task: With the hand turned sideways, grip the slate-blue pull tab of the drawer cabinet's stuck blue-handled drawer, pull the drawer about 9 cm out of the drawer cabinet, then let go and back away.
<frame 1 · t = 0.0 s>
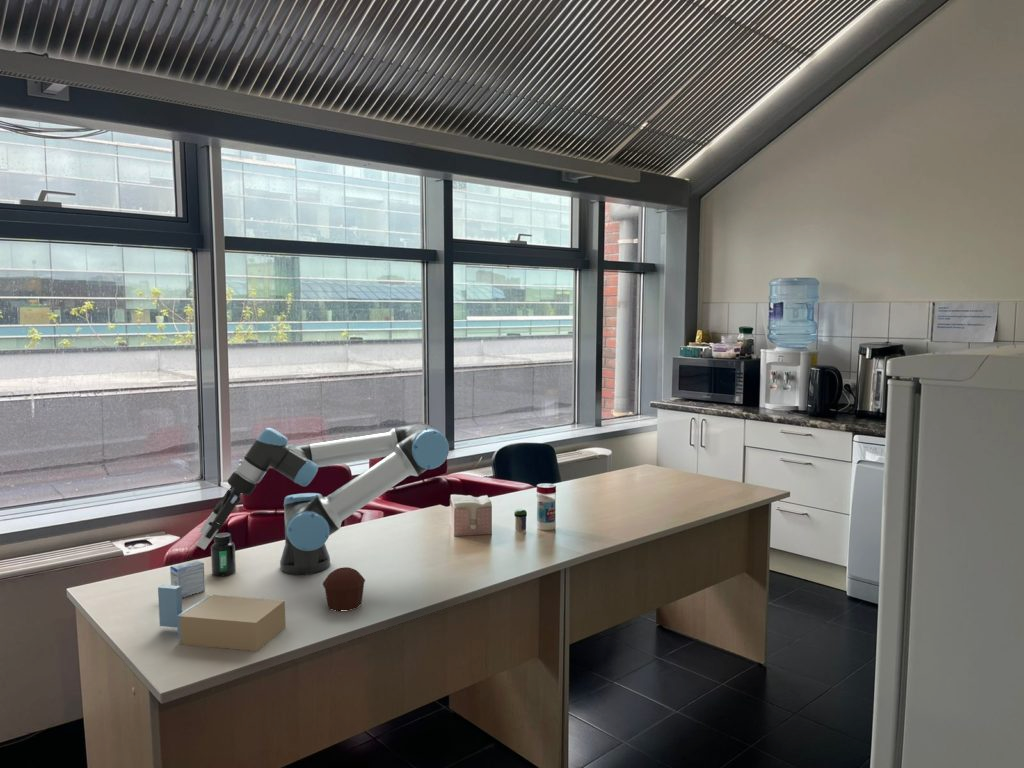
hand: (201, 540, 217), 15 cm above the table, tool tilted 35°, fingers open, 13 cm apart
drawer cabinet: (234, 635, 190), on the table
supplement bottle: (223, 573, 235), on the table
muffin: (344, 606, 209), on the table
blue-handled drawer: (213, 609, 190), point 6 cm above the table, slide at 0.0 cm
medicine box: (188, 594, 218), on the table
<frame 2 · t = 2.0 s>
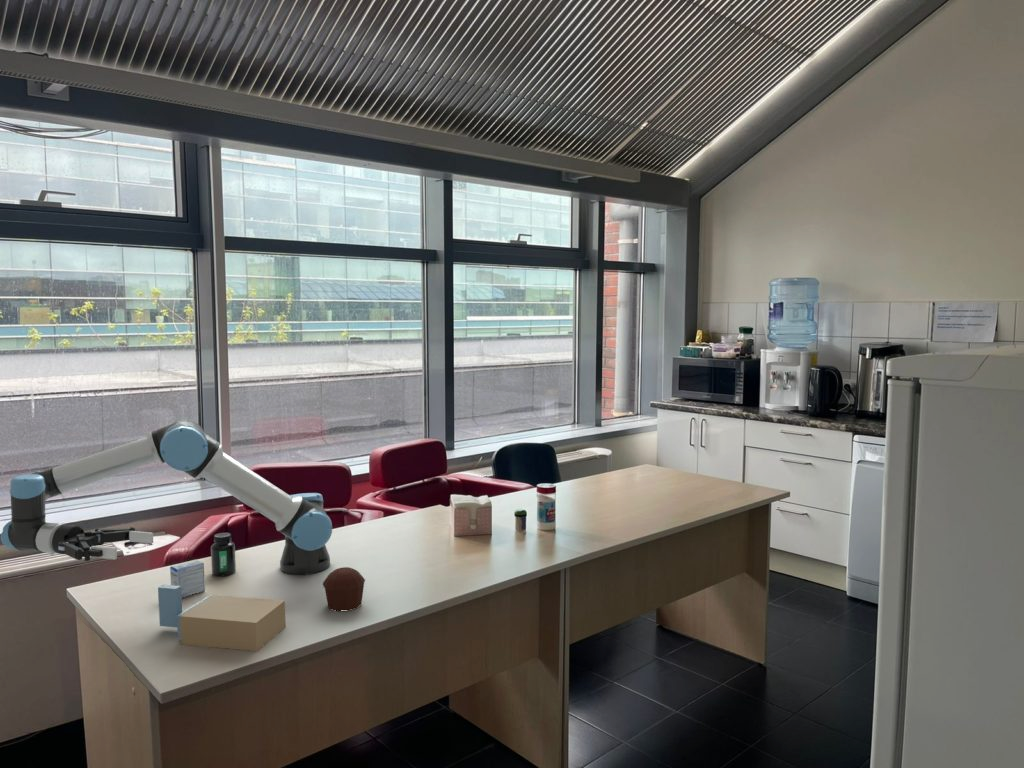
hand: (134, 545, 193), 21 cm above the table, tool horizontal, fingers open, 13 cm apart
nothing on the table moved.
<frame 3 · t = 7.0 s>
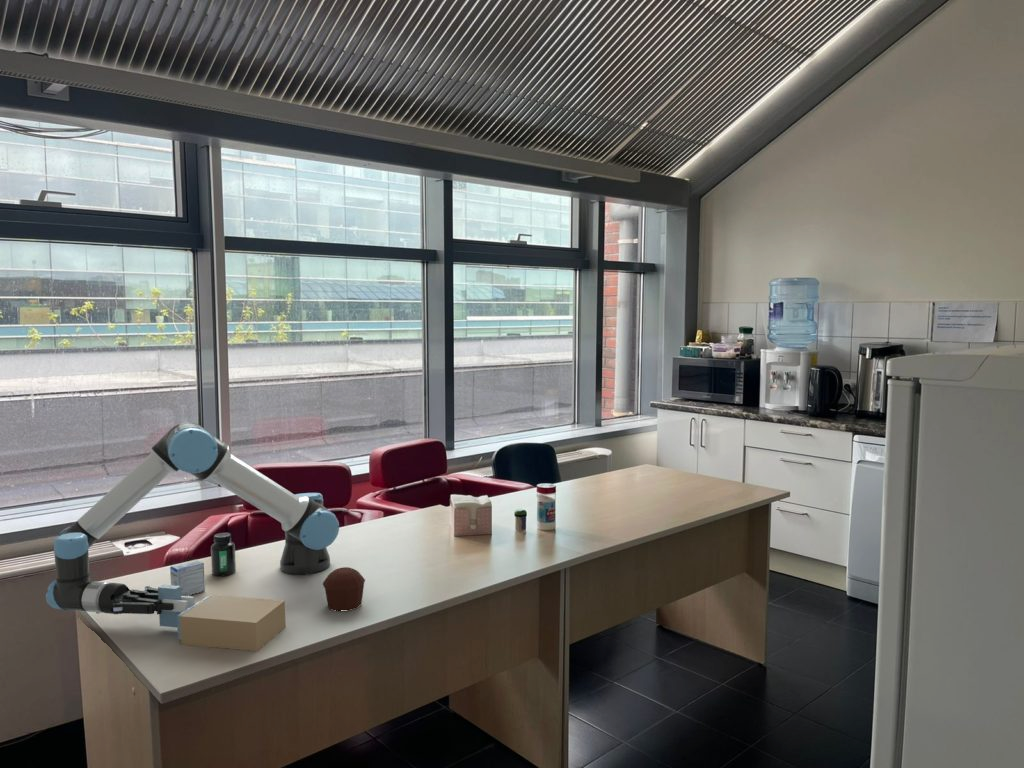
hand: (189, 604, 191), 7 cm above the table, tool horizontal, fingers closed on blue-handled drawer, 2 cm apart
blue-handled drawer: (213, 609, 190), point 6 cm above the table, slide at 0.0 cm, touching gripper
everything else where it was.
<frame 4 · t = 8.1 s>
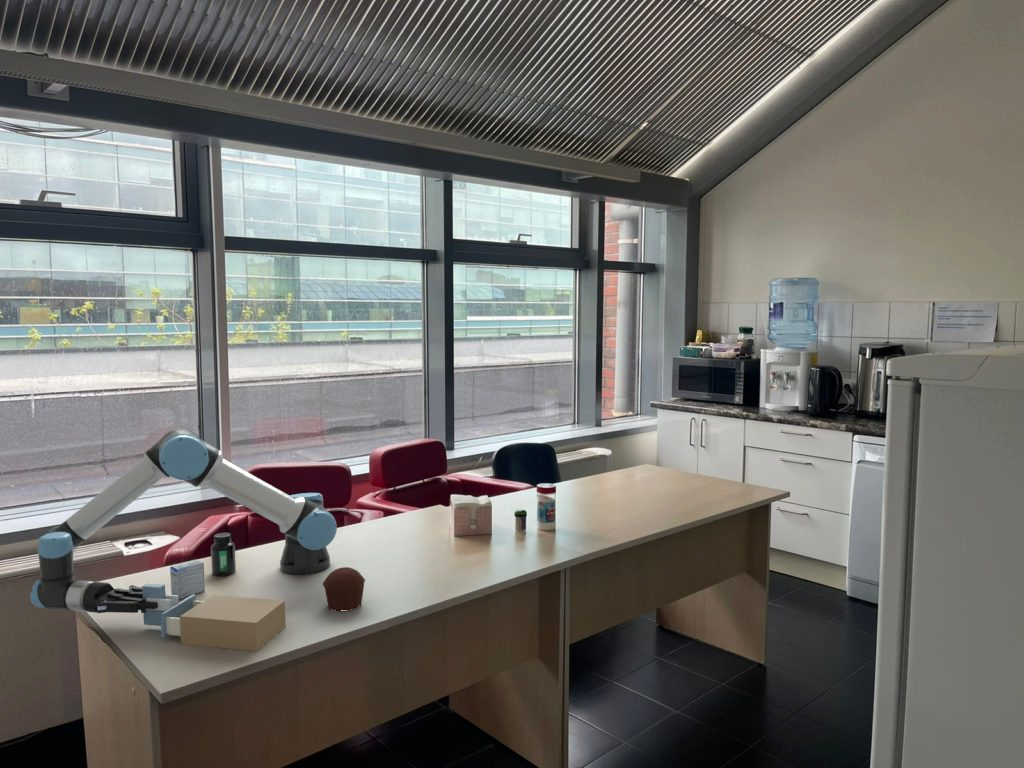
hand: (174, 603, 192), 7 cm above the table, tool horizontal, fingers closed on blue-handled drawer, 2 cm apart
blue-handled drawer: (196, 608, 191), point 6 cm above the table, slide at 4.5 cm, touching gripper
everything else where it was.
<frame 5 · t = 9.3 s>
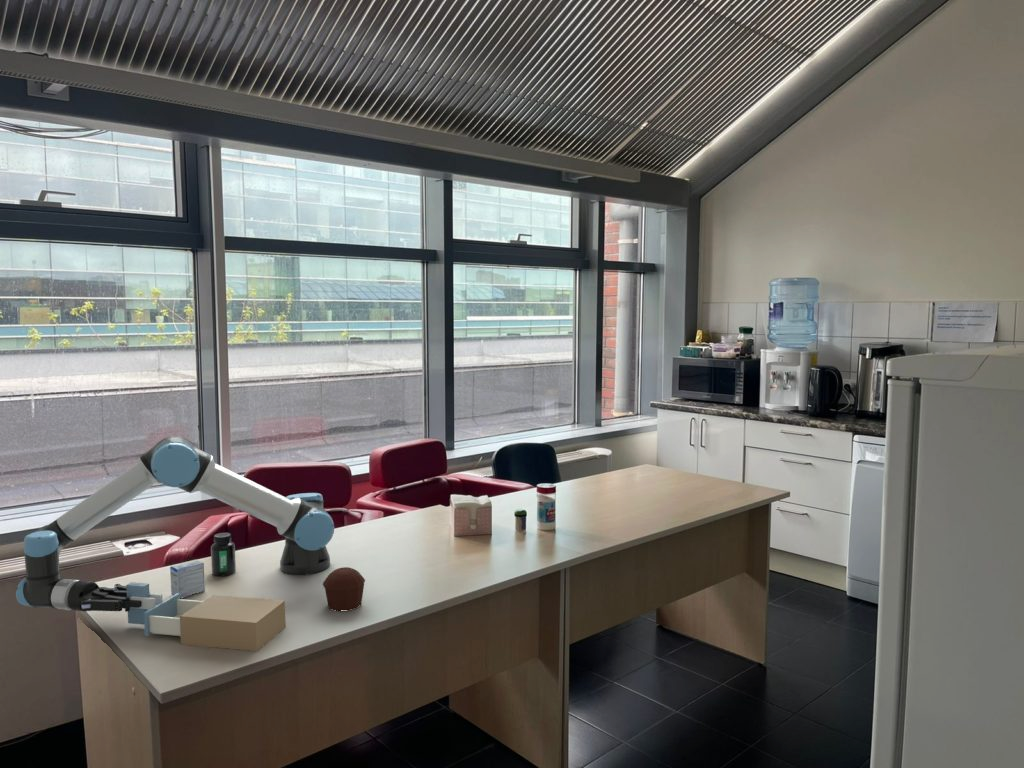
hand: (157, 601, 193), 7 cm above the table, tool horizontal, fingers closed on blue-handled drawer, 2 cm apart
blue-handled drawer: (180, 607, 192), point 6 cm above the table, slide at 9.0 cm, touching gripper
everything else where it was.
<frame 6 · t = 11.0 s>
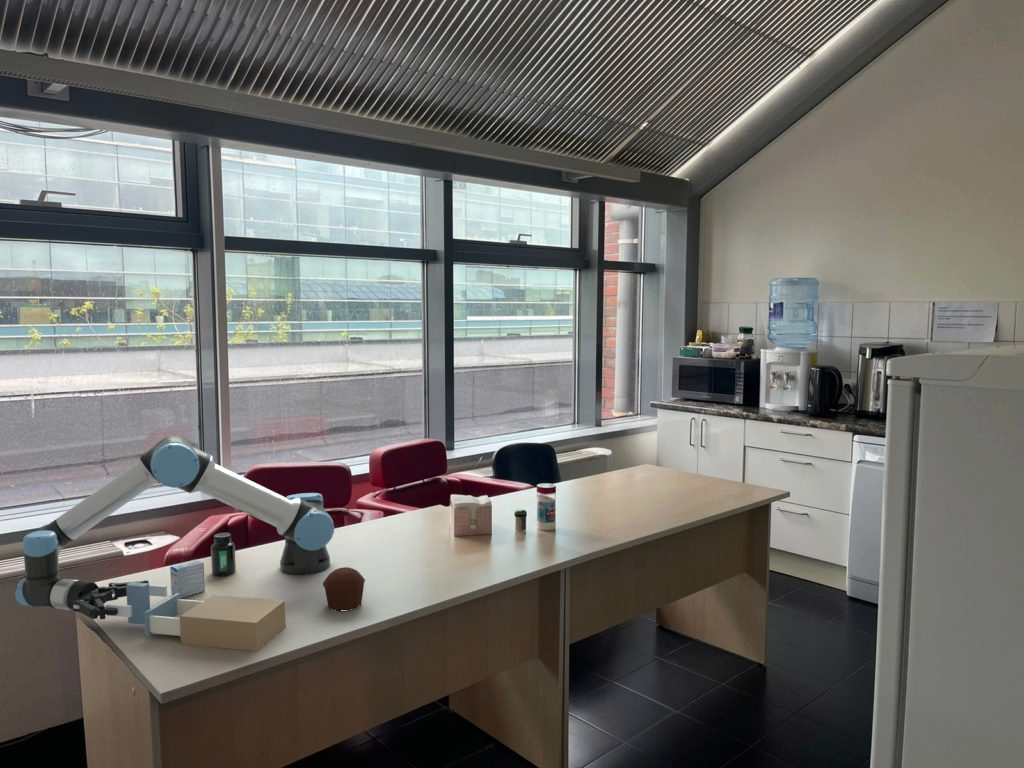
hand: (149, 601, 194), 7 cm above the table, tool horizontal, fingers open, 13 cm apart
blue-handled drawer: (180, 607, 192), point 6 cm above the table, slide at 9.0 cm
everything else where it was.
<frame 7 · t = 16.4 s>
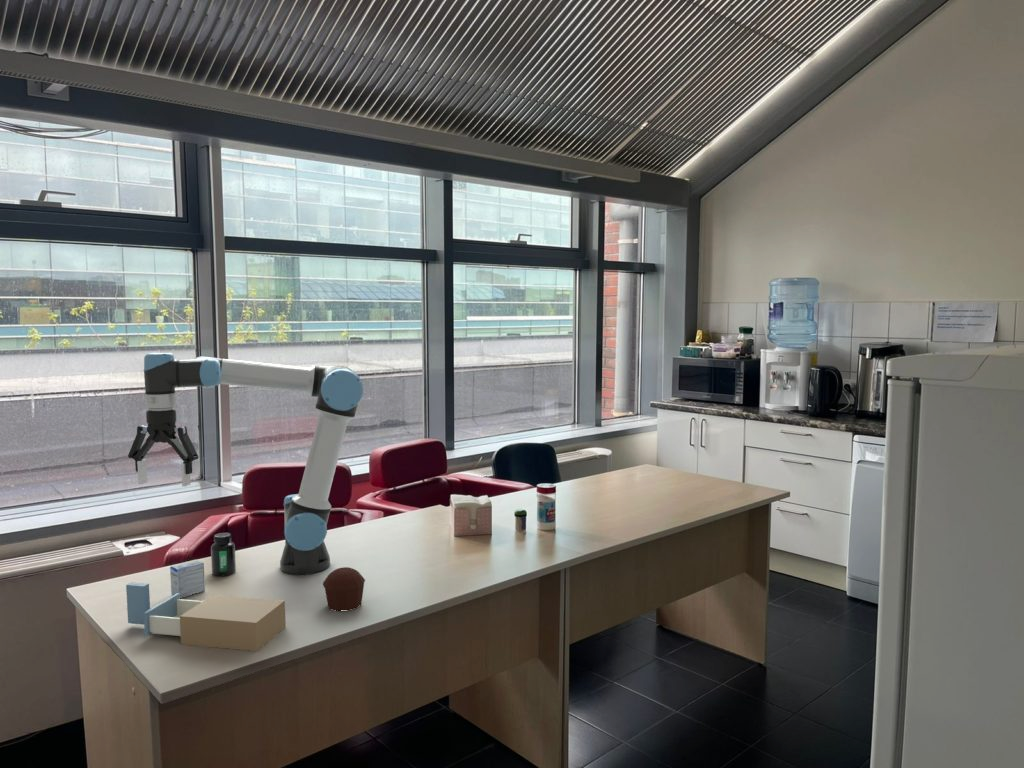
hand: (164, 484, 214), 32 cm above the table, tool pointing down, fingers open, 13 cm apart
nothing on the table moved.
at the end: blue-handled drawer slide at 9.0 cm; the gripper is holding nothing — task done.
